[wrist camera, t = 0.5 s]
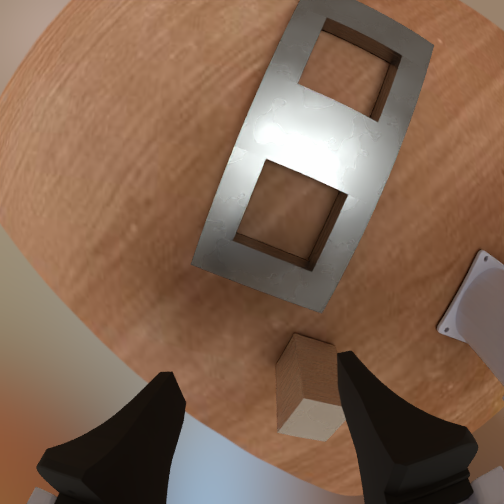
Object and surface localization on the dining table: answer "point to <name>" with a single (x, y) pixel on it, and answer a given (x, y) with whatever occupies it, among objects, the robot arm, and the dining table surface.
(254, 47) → the dining table surface
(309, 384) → the grey square peg
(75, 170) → the dining table surface
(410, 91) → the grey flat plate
